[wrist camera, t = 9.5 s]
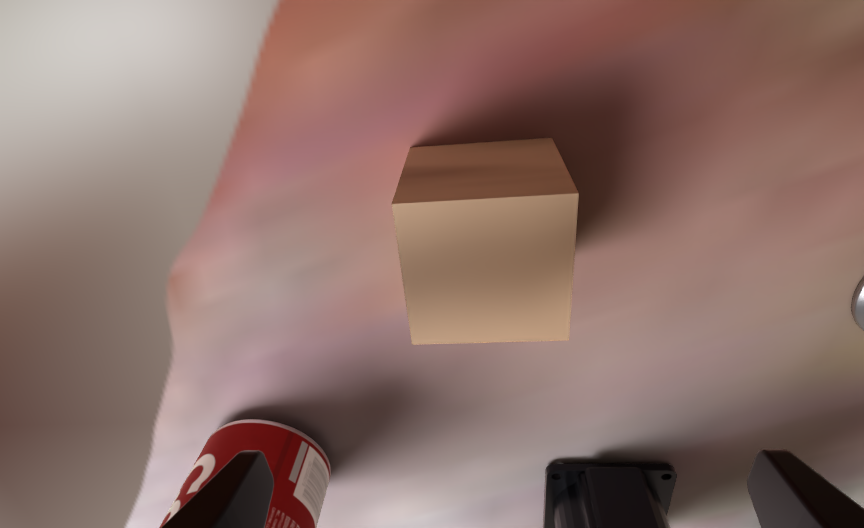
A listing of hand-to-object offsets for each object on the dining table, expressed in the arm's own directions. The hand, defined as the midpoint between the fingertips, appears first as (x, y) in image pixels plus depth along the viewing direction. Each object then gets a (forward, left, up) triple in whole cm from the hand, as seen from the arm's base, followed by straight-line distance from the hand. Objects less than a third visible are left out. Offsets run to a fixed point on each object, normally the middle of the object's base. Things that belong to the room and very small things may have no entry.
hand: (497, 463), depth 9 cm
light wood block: (0, 0, -11) cm, 11 cm away
